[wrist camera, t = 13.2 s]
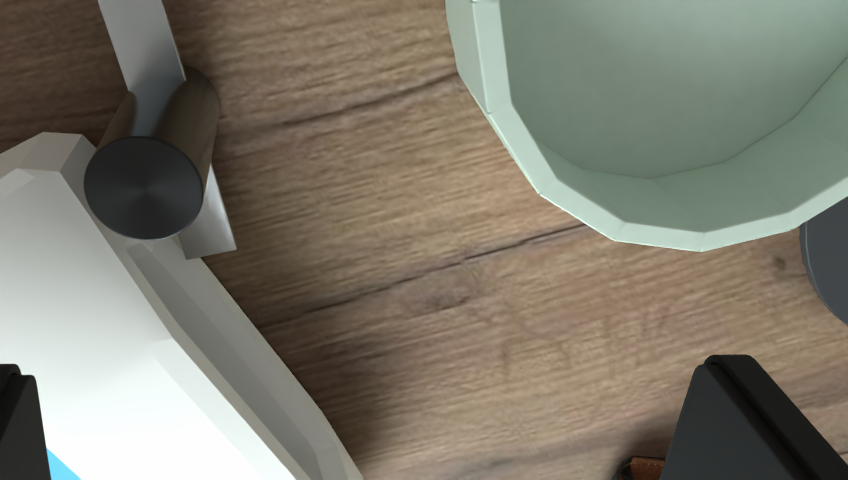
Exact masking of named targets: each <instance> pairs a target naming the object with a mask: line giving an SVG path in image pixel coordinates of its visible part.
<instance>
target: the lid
mask: <svg viewBox="0 0 848 480" xmlns="http://www.w3.org/2000/svg"><path fill="white" fill-rule="evenodd" d="M800 245H801V251H802V258H803V262H804V265H805V268H806V271H807V274H808V277H809V280H810V282H811V284H812V286H813V288H814V289H815V291H816V293H817V295H818V297H819V298H820V299H821V301H822V302H823V303H824V304H825V305H826V307H827V308H828V309H829V310H830V311H831V312H832V313H833V314H834V315H835V316H836V317H837V318H839V319H840V320H841V321H842V322H844V323H845V324H846V325H847V326H848V196H847V197H845V198H844V199H842V200H840V201H839V202H837V203H835V204H834V205H832V206H830V207H829V208H827V209H826V210H824V211H822V212H821V213H819V214H817V215H816V216H814V217H812V218H811V219H809V220H807V221H806V222H804V223H802V224H801V225H800Z"/></svg>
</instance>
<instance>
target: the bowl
mask: <svg viewBox="0 0 848 480" xmlns="http://www.w3.org/2000/svg"><path fill="white" fill-rule="evenodd" d="M445 5H446V16H447V23H448V28H449V32H450V37H451V41H452V46H453V50H454V54H455V60H456V67H457V70H458V74H459V75H460V77H461V79H462V80H463V82H464V83H465V85H466V86H467V88H468V90H469V91H470V93H471V94H472V96H473V97H474V99H475V101H476V102H477V104H478V106H479V107H480V109H481V110H482V112H483V113H484V115H485V116H486V118H487V120H488V121H489V123H490V124H491V126H492V127H493V129H494V131H495V132H496V134H497V135H498V137H499V139H500V140H501V142H502V143H503V145H504V146H505V148H506V149H507V150H508V152H509V153H510V155H511V156H512V158H513V159H514V160H515V162H516V163H517V165H518V166H519V168H520V169H521V171H522V172H523V173H524V175H525V176H526V178H527V179H528V181H529V182H530V183H531V185H532V186H533V188H534V189H535V191H536V192H537V193H538V194H539V195H540V196H542V197H543V198H545V199H546V200H548V201H550V202H551V203H553V204H554V205H556V206H558V207H559V208H561V209H563V210H564V211H566V212H567V213H569V214H571V215H572V216H574V217H575V218H577V219H579V220H580V221H582V222H584V223H585V224H587V225H588V226H590V227H592V228H593V229H595V230H596V231H598V232H600V233H601V234H603V235H605V236H606V237H608V238H609V239H612V240H614V241H619V242H627V243H635V244H643V245H651V246H658V247H666V248H674V249H682V250H690V251H697V252H699V251H702V252H703V251H707V250H711V249H715V248H720V247H724V246H728V245H732V244H736V243H740V242H744V241H749V240H753V239H757V238H761V237H765V236H769V235H773V234H778V233H782V232H786V231H790V230H791V229H794V228H796V227H797V226H799V225H801V224H802V223H804V222H806V221H807V220H809V219H811V218H812V217H814V216H816V215H817V214H819V213H821V212H822V211H824V210H826V209H827V208H829V207H830V206H832V205H834V204H835V203H837V202H839V201H840V200H842V199H844V198H845V197H847V196H848V0H445Z"/></svg>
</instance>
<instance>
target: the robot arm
mask: <svg viewBox="0 0 848 480" xmlns="http://www.w3.org/2000/svg"><path fill="white" fill-rule="evenodd" d="M0 480H51V475H50V468H49V461H48V455H47V448H46V441H45V435H44V428H43V422H42V415H41V408H40V402H39V395H38V388H37V383H36V379H35V377H34V376H33V375H22V374H21V370H20V368H19V366H18V365H17V364H0ZM659 480H848V465H847V464H846V463H845V462H844V460H843V459H842V458H841V457H840V456H839V455H838V454H837V452H836V451H835V450H834V449H833V448H832V447H831V446H830V444H829V443H828V442H827V441H826V440H825V439H824V438H823V436H822V435H821V434H820V433H819V432H818V431H817V430H816V428H815V427H814V426H813V425H812V424H811V423H810V422H809V420H808V419H807V418H806V417H805V416H804V415H803V414H802V413H801V411H800V410H799V409H798V408H797V407H796V406H795V405H794V403H793V402H792V401H791V400H790V399H789V398H788V397H787V395H786V394H785V393H784V392H783V391H782V390H781V389H780V387H779V386H778V385H777V384H776V383H775V382H774V381H773V379H772V378H771V377H770V376H769V375H768V374H767V373H766V371H765V370H764V369H763V368H762V367H761V366H760V365H759V363H758V362H757V361H756V360H755V359H754V358H752V357H751V356H749V355H712V356H709V357H708V358H707V359H706V360H705V362H704V364H703V365H699V366H698V367H697V368H696V369H695V371H694V373H693V376H692V379H691V382H690V385H689V388H688V392H687V395H686V398H685V401H684V404H683V407H682V410H681V413H680V416H679V419H678V422H677V425H676V429H675V432H674V435H673V438H672V441H671V444H670V447H669V450H668V453H667V456H666V459H665V462H664V466H663V469H662V472H661V475H660V478H659Z"/></svg>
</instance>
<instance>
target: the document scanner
mask: <svg viewBox="0 0 848 480" xmlns="http://www.w3.org/2000/svg"><path fill="white" fill-rule="evenodd" d="M95 150H96V148H95V147H94V146H93V145H92V144H91V143H90V142H89V141H88V140H87V139H86V138H85V137H84V136H83V135H82V134H67V133H50V132H42V133H40V134H38V135H36V136H34V137H32V138H30V139H28V140H26V141H24V142H22V143H20V144H19V145H17V146H15V147H13V148H11V149H9V150H7V151H5V152H3V153H1V154H0V364H17V365H18V366H19V368H20V370H21V374H22V375H33V376H34V377H35V379H36V383H37V388H38V395H39V402H40V408H41V415H42V422H43V428H44V435H45V441H46V448H47V455H48V461H49V468H50V475H51V480H364V478H363V477H362V475H361V473H360V472H359V470H358V469H357V467H356V465H355V464H354V462H353V461H352V459H351V457H350V456H349V454H348V453H347V451H346V449H345V448H344V446H343V444H342V443H341V441H340V440H339V438H338V436H337V435H336V433H335V432H334V430H333V428H332V427H331V425H330V424H329V422H328V420H327V419H326V417H325V416H324V414H323V412H322V411H321V410H320V408H319V407H318V406H317V405H316V403H315V402H314V401H313V400H312V398H311V397H310V396H309V394H308V393H307V392H306V391H305V389H304V388H303V387H302V386H301V384H300V383H299V382H298V381H297V379H296V378H295V377H294V375H293V374H292V373H291V372H290V370H289V369H288V368H287V367H286V365H285V364H284V363H283V362H282V360H281V359H280V358H279V356H278V355H277V354H276V353H275V351H274V350H273V349H272V348H271V346H270V345H269V344H268V343H267V341H266V340H265V339H264V338H263V336H262V335H261V334H260V332H259V331H258V330H257V329H256V327H255V326H254V325H253V324H252V322H251V321H250V320H249V319H248V317H247V316H246V315H245V313H244V312H243V311H242V310H241V308H240V307H239V306H238V305H237V303H236V302H235V301H234V300H233V298H232V297H231V296H230V295H229V293H228V292H227V291H226V289H225V288H224V287H223V286H222V284H221V283H220V282H219V281H218V279H217V278H216V277H215V276H214V274H213V273H212V272H211V271H210V269H209V268H208V267H207V266H206V264H205V263H204V262H203V261H202V259H201V258H200V257H199V258H194V259H189V260H186V258H185V255H184V252H183V249H182V246H181V244H180V241H179V238H178V235H175V236H172V237H170V238H166V239H162V240H156V241H142V240H135V239H131V238H127V237H124V236H122V235H119V234H117V233H115V232H114V231H112V230H110V229H109V228H108V227H106V226H105V225H104V224H103V223H102V222H100V221H99V220H98V218H97V217H96V216H95V215H94V213H93V212H92V210H91V209H90V207H89V205H88V203H87V200H86V197H85V193H84V174H85V171H86V167H87V165H88V163H89V161H90V159H91V158H92V156H93V154H94V152H95Z"/></svg>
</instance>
